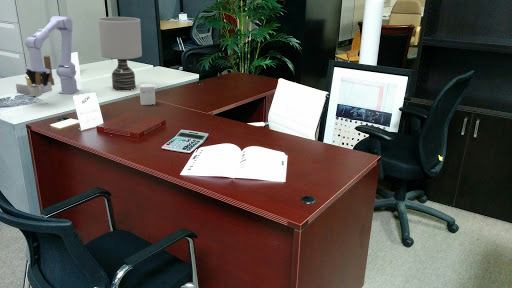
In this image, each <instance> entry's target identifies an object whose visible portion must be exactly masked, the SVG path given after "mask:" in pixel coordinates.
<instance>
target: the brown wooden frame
mask: <svg viewBox="0 0 512 288" xmlns="http://www.w3.org/2000/svg"><path fill="white" fill-rule="evenodd" d="M43 61H44V62H43V63H44V68H46V69H50V76H49V79H48V82H51V84H52V86H53V85H54V84H55V79H54V77H53V71H52V69H53V68H52V61H51V56H50V55H43ZM41 73H43V72H36V75H35V78H36V84H34V85H41V84H43V81H42V77H41V75H40V74H41Z"/></svg>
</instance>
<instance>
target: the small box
mask: <svg viewBox="0 0 512 288" xmlns="http://www.w3.org/2000/svg"><path fill="white" fill-rule="evenodd" d="M139 98H140V99H139V100H140V105H141V106H149V105H151V106H152V104H153V105H156V87H155V85H154V83H152V84H151V83H149V84H139Z"/></svg>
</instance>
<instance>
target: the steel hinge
mask: <svg viewBox="0 0 512 288" xmlns="http://www.w3.org/2000/svg"><path fill="white" fill-rule="evenodd" d="M15 87H16V88H15V89H16V93H19V94H24V95H25V94H26V95H28V96H29V95H30V96H29V97H33V96H36V97H41V96H42V95H43V94H44V93H47V92H48V93H49V92H51V91H53V85H52V84H51V82H48V84H47V86H44V85H43V84H41V85H35V84H33V86H28V85H27V84H21V83H15Z"/></svg>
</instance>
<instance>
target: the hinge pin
mask: <svg viewBox="0 0 512 288" xmlns="http://www.w3.org/2000/svg"><path fill="white" fill-rule="evenodd" d="M24 79H25V81H26V85H28V86H33V85H34V84H32V83H31V81H30V79H29V77H28V75H26V76H25V77H24Z"/></svg>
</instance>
